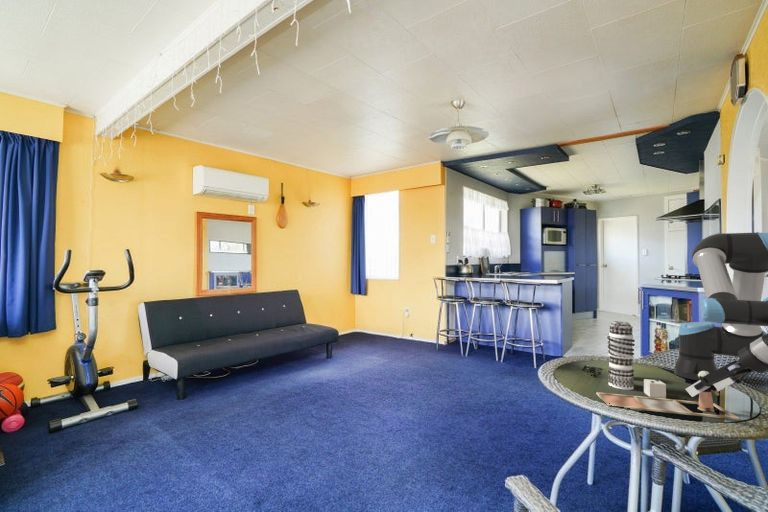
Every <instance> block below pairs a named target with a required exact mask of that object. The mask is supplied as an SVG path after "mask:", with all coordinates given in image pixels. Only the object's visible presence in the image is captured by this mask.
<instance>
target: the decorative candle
mask: <svg viewBox="0 0 768 512" xmlns="http://www.w3.org/2000/svg"><path fill="white" fill-rule="evenodd" d="M633 328H634V326H632V325H631V323H630V322H628V321H617V320H615V321H612V322H611V323H610V324H609V334H608V336H607V340H608V341H607V344H608V345H607V348H608V350H607V353H608V354H607V355H608V356H609V361H608V364H609V365H608V368H607V369H609V370H608V371H607V372H608V373H609V374H608V375H607V377H608V379H607V382H608V383H607V384H608V386H610V387H611V386H612V388H615V389H618V390H619V389H620V390H625V391H631V390H634V385H635V382H634V381H635V378H634V376H635V374H634V371H635V370H634V364H633V359H634V358H635V356H634V355H635V353H634V351H635V349H634V348H633V347H634V346H636V344H635V343H634V342H635V341H636V340H635V339H634V335H633ZM632 351H633V352H632Z"/></svg>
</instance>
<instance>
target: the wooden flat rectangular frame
mask: <svg viewBox="0 0 768 512" xmlns="http://www.w3.org/2000/svg"><path fill="white" fill-rule="evenodd" d="M596 395H597V396H598V398H599V399H600V400H601V399H602V400H603V401H604V402H605V403H606V404H607V405H612V406H618V407H624V408H623V409H627V408H630V409H629V410H640V411H649V412H656V413H657V412H659V413H666V414H667V413H668V414H678V415H687V416H696V417H707V418H717V419H726V420H727V419H728V420H737V421H740V420H741V419H740V417H738V416H737V415H735V414H733V413H732V412H730V411H729V410H726V409H725V408H724V407H721V406H720V405H718V404H717V403H714V402H713V407H715V408H717V409H718V410H719V411H721V412H723V413H724V414H726V415H723V414H722V415H721V414H710V413H700V412H694V411H692V410H690V409H688V408H687V407H686V406H685V405H683V404H692V405H699V401H694V400H693V401H692V400H682V399H671V398H666V399H664V398H654V397H649V396H642V395H641V396H640V395H632V394H631V395H629V394H628V395H627V394H617V393H610V392H608V393H607V392H597V391H596ZM602 400H601V401H602ZM603 401H602V402H603ZM604 402H603V403H604ZM605 403H604V404H605ZM609 403H610V404H609ZM606 404H605V405H606ZM607 405H606V406H607Z"/></svg>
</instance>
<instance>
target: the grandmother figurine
mask: <svg viewBox="0 0 768 512" xmlns="http://www.w3.org/2000/svg"><path fill="white" fill-rule="evenodd" d="M707 374H709V372H707V371H701V372H699V373H698V377H700V376H702V377H703V376H705V375H707ZM712 392H713V393H714V394H715V396H720V393H719V392H718V391H717V389H716V388H715V386H714V385H711V386H710V387H709V388H707V389H706V390H704V391H702V392H701V393H699V394H698V402H699V404H698V407H697V410H699V411H701V412H702V411H703V412H712V413H714V412H715V410H714V406H713V403H714V399H713V395H712Z"/></svg>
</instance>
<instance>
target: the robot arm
mask: <svg viewBox="0 0 768 512" xmlns="http://www.w3.org/2000/svg"><path fill="white" fill-rule="evenodd" d="M691 260H692V263H693V264H694V266H695V267H696V268H698V272H699V276H700V279H701V284H702V287H703V291H704V295H705V298H702V299H701V301H700V302H701V303H700V316H701V318H702V320H703V321H691V322H683V323H680V325H679V328H678V341H679V342H678V345H679V346H678V358H677V360H676V363H675V366H674V367H673V374H674V375H676V376H678V377H681V378H684V379H689V380H693V381H696V382H694V383H693V384H691V385H690V386H688V387H685V389H684V390H686V392H687V393H688V394H689V395H690V396H691V397H692V398H694V397H695V396H697V395H699V393H701V392H702V391H704V390H706V389H707V388H709V387H710V386H711V385H714V386H715V388H716V389H717V391H718V393H719V392H720V391H722V390H724V389H725V388H727V387H729V386H731V385H732V384H735V382H736V383H737V384H741V383H742V380H744V379H745V378H746V377H748V376H749V375H751V374H752V373H754V372H756V373H760V374H764V373H766V372H768V332H767V333H766V332H765V331H764V330H763V329H762V327H768V296H767V297H765V298H763V300H762V297H763V291H764V284H765V283H764V282H765V278H766V274H767V273H768V232H760V231H756V232H735V233H734V232H730V233H729V232H728V233H726V232H725V233H724V232H723V233H722V232H720V233H715V234H711V235H709V236H707V237H705V238H703V239H702V240H700V241H699V242H698V243H697V244H696V245H695V246H694V248H693V250H692V252H691ZM727 264H728V267H729V268H730V269H731V270H732V271H733V274H732V278H731V277H730V274H729V272H728V268H727V266H726V265H727ZM704 321H705V322H704ZM714 323H716V324H721V326H716V325H715V324H714ZM715 355H720V356H731V357H738V358H739V360H736V359H735V360H733V361H731V362H728V364H727V363H726V364H725V365H723V366H722V367H720V368H718V367H717V364H716V362H715ZM701 371H707V372H709V374H707V375H705V376H703V377H702V376H700V377H698V373H699V372H701Z"/></svg>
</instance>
